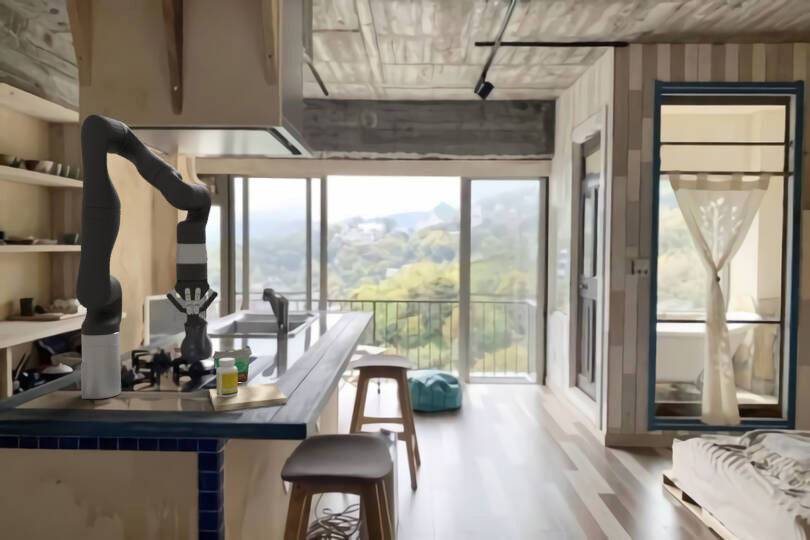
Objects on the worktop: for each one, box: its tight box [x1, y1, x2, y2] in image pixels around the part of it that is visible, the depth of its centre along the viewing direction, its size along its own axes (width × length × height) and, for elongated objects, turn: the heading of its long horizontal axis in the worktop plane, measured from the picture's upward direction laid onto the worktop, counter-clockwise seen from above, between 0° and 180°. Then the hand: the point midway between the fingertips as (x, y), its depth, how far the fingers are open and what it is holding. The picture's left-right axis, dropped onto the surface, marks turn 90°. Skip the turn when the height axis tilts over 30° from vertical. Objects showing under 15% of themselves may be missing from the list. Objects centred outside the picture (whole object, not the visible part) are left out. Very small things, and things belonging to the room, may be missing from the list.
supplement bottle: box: [216, 358, 239, 398], centre depth 149 cm, size 5×5×10 cm
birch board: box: [208, 382, 288, 412], centre depth 151 cm, size 18×16×2 cm
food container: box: [213, 344, 253, 383], centre depth 168 cm, size 12×6×10 cm, turn 143°
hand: (192, 328), depth 145 cm, fingers closed
